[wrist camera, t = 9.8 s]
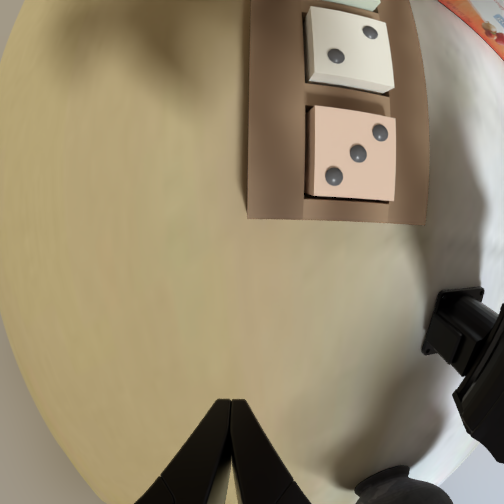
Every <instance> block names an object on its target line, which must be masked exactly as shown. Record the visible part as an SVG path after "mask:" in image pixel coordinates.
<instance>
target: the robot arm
mask: <svg viewBox="0 0 504 504" xmlns="http://www.w3.org/2000/svg"><path fill="white" fill-rule="evenodd" d="M483 295H484V288H482V287H473V288H463V289H453V290H443V291H441V292H440V293H439V294H438V297H437V301H436V305H435V309H434V313H433V316H432V320H431V323H430V326H429V330H428V333H427V336H426V339H425V342H424V345H423V348H422V353H423V354H424V355H430V354H435V353H438V354H439V355H440V356H441V357H442V358H443V359H444V360H445V361H446V362H447V363H448V364H451V365H452V366H453V367H454V368H455V370H456V371H457V372H458V373H459V374H460V375H461V376H462V377H464V376H465V378H464V379H463V381H462V382H461V384H460V385H459V387H458V388H457V389H456V390H455V391H454V393H453V394H452V396H453V399H454V401H455V404H456V406H457V409H458V411H459V414H460V416H461V419H462V422H463V425H464V427H465V429H466V431H467V433H468V434H470V435H471V437H472V438H474V439H476V440H477V441H479V442H480V443H481V444H483V445H484V446H485V447H486V448H487V449H488V451H489V452H490V453H491V454H492V456H493V457H494V458H495V460H496V461H497V462H499V463H503V464H504V303H503V304H502V306H501V309H500V310H501V311H500V313H499V314H497V313H496V312H494V311H493V310H491V309H490V308H489V307H487V306H486V305H484V304H483V303H481V302H482V298H483ZM442 297H443V298H442ZM231 461H232V467H233V474H234V481H235V487H236V493H237V499H238V504H311V502H310V501H309V500H308V499H307V497H306V496H305V495H304V493H303V492H302V491H301V489H300V488H299V486H298V485H297V483H296V482H295V481H293V480H294V479H293V477H292V476H291V474H290V473H289V471H288V470H287V468H286V467H285V465H284V463H283V462H282V460H281V459H280V457H279V456H278V454H277V452H276V451H275V449H274V447H273V446H272V444H271V443H270V441H269V439H268V438H267V436H266V434H265V433H264V431H263V429H262V427H261V426H260V424H259V422H258V421H257V419H256V417H255V415H254V414H253V412H252V410H251V408H250V406H249V405H248V403H247V401H246V400H245V399H232V401H231V400H230V399H217V400H216V401H215V402H214V404H213V405H212V407H211V408H210V409H209V411H208V412H207V414H206V415H205V416H204V418H203V419H202V421H201V422H200V423H199V425H198V426H197V427H196V429H195V430H194V431H193V433H192V434H191V435H190V437H189V438H188V439H187V441H186V442H185V443H184V445H183V446H182V447H181V449H180V450H179V451H178V453H177V454H176V455H175V457H174V458H173V459H172V460H171V462H170V463H169V464H168V466H167V467H166V468H165V469H164V471H163V472H162V473H161V476H159V477H158V478H157V479H156V480H155V482H154V483H153V484H152V485H151V486H150V488H149V489H148V490H147V491H146V492H145V493H144V494H143V495H142V497H140V498H139V499H138V500H137V501H136V502H135V503H134V504H225V500H226V494H227V488H228V482H229V476H230V470H231Z"/></svg>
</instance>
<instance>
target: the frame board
mask: <svg viewBox="0 0 504 504" xmlns="http://www.w3.org/2000/svg"><path fill="white" fill-rule="evenodd" d="M380 2H381V3H380V4H379V5H378V6H377V7H376V8H375V9H374V10H373V12H371V11H367V10H364V9H360V8H356V7H352V6H347V5H343V4H338V3H333V2H327V1H322V0H251V13H250V60H249V116H248V186H247V219H291V220H327V221H353V222H375V223H394V224H411V225H425V223H426V213H427V202H428V187H429V154H430V150H429V117H428V102H427V92H426V82H425V75H424V67H423V61H422V55H421V49H420V44H419V39H418V34H417V30H416V25H415V21H414V17H413V13H412V9H411V6H410V2H409V0H380ZM310 6H313V7H320V8H326V9H331V10H337V11H342V12H346V13H351V14H355V15H359V16H363V17H367V18H371V19H374V20H378V21H381V22H384V23H386V27H387V33H388V39H389V45H390V52H391V59H392V67H393V77H394V87H395V88H393V89H391V90H389V91H387V92H385V93H383V94H381V95H377V94H372V93H367V92H362V91H356V90H351V89H345V88H338V87H332V86H324V85H316V84H307V83H305V73H304V45H303V23H304V20H305V18H306V15H307V13H308V11H309V8H310ZM314 106H324V107H333V108H340V109H347V110H354V111H360V112H366V113H371V114H376V115H381V116H386V117H391V118H395V120H396V173H395V194H394V201H386V200H376V201H370V200H356V199H340V198H322V197H304V175H305V112H306V113H308V112H309V111H310V110H311V109H312V108H313V107H314Z"/></svg>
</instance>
